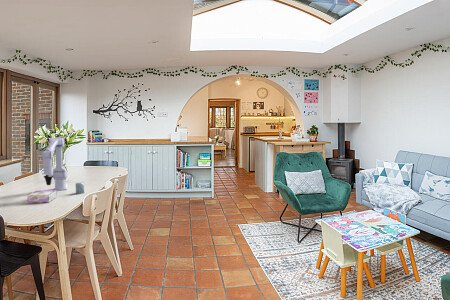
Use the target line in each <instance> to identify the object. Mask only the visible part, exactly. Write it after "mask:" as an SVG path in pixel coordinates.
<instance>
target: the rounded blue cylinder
mask: <svg viewBox="0 0 450 300" xmlns="http://www.w3.org/2000/svg"><path fill="white" fill-rule="evenodd" d="M75 194H76V195H83V194H85V182H75Z"/></svg>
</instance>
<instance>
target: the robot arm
mask: <svg viewBox="0 0 450 300" xmlns="http://www.w3.org/2000/svg"><path fill="white" fill-rule="evenodd" d="M48 141H49V145H48V146H47V147H46V148H45V149H44V150H43V151H42V152H41V159H42V164H43V168H42V169H43V172H41V175H43V178H44V179H45V180H44V181H45V183H46V185H47V186H51V184H52V180H53V179H54V188H53V190H57V192H58V191H65V190H67V188H66V178H68V172H67V171H68V170H67V168H65V167H64V166H63V163H64V162H63V148H65V139H64V137H50V138H49V140H48ZM54 152H55V168H53V158H54Z"/></svg>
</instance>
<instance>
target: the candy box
mask: <svg viewBox="0 0 450 300" xmlns="http://www.w3.org/2000/svg"><path fill="white" fill-rule="evenodd" d="M57 193H58V191H57V190H55V189H47V190H43V189H42V190H35V191H33V192H31V193H29V194H28V195H27V196H26V197H27V204H42V203H43V204H44V203H45V204H46V203H50V202H52V201H53V200H55V199H56V198H57V197H58V196H57V195H58V194H57Z"/></svg>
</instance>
